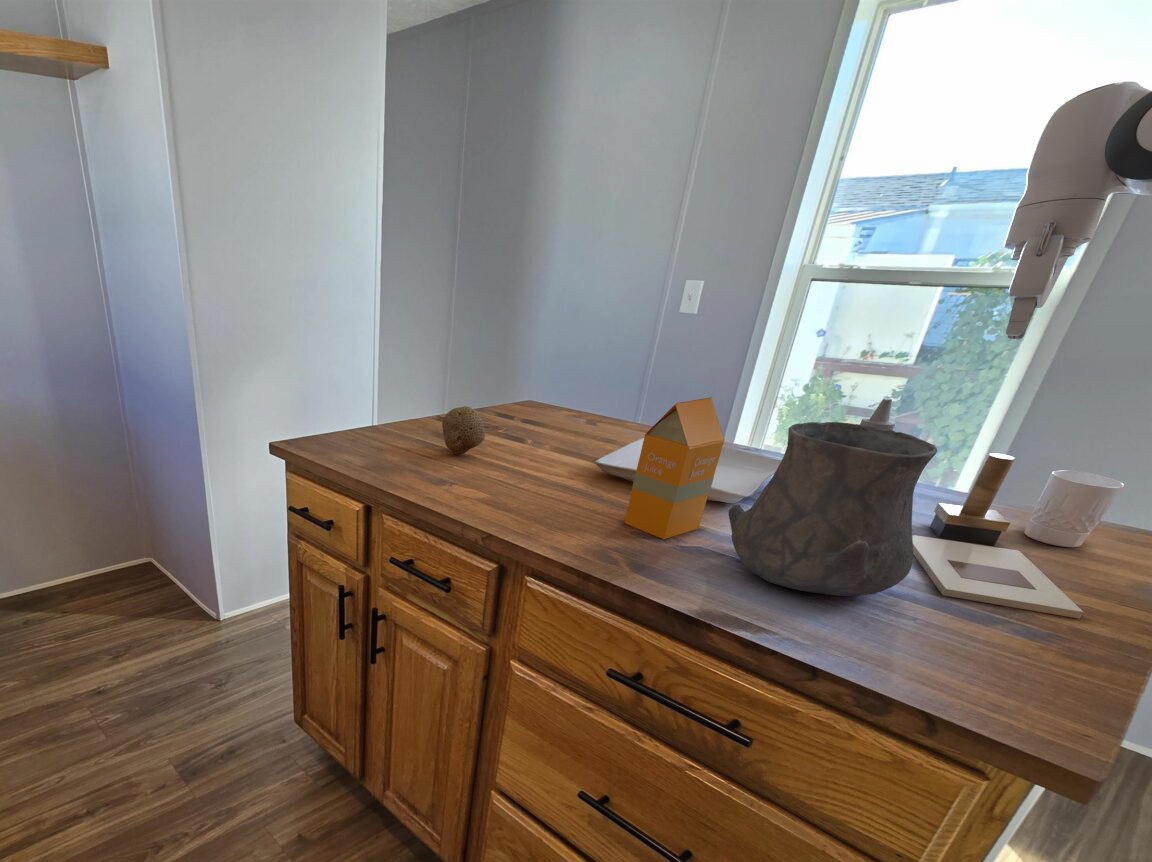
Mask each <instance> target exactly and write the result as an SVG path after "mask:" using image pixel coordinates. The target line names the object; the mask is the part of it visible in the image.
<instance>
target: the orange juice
mask: <svg viewBox="0 0 1152 862" xmlns="http://www.w3.org/2000/svg"><path fill="white" fill-rule="evenodd" d="M722 431H723V430H722V428H721V425H720V422H719V418H718V415H717V412H716V409H715V405H714V402H713V397H712V396H711V397H706V398H699V399H693V400H687V401H680V402H676V403H675V404H673V406H672V407H670V409H669V410H668V411H666V413H665V414H664V415H663V416H662V417H661V418H660V419H659V420H658V421H656V423H654V425H653V426H652V427H651V428H650V429H649V430H648V431H647V432H646V433H644V437H643V438H644V441H643V445H642V449H641V454H640V458H639V462H638V466H637V471H636V473H635V478H634V482H632V487H631V493H630V496H629V500H628V504H627V509H626V514H625V518H624V521H623V523H624V524H626V525H628V526H630V527H633V528H635V529H638V530H640V531H643V532H645V533H647V534H650V535H653V536H655V537H657V538H659V539H662V540H666V539H670V538H673V537H676V536H679V535H682V534H686V533H689V532H692V531H695V530H698V529H699V528H700V523H701V521H702V517H703V514H704V511H705V508H706V504H707V501H708V500H707V498H708V494H709V492H710V489H711V485H712V482H713V479H714V474H715V471H716V467H717V464H718V461H719V457H720V454H721V450H722V447H724V444H725V440H726V439H725V438H724V434H723V432H722Z"/></svg>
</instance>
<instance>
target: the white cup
mask: <svg viewBox="0 0 1152 862" xmlns="http://www.w3.org/2000/svg"><path fill="white" fill-rule="evenodd" d="M1125 486H1126V485H1125V484H1124V483H1123V482H1122V481H1120V480H1118V479H1115V478H1112V477H1109V476H1104V475H1100V474H1096V473H1091V472H1086V471H1077V470H1067V469H1066V470H1065V469H1062V470H1061V469H1060V470H1059V469H1058V470H1054V471H1052V472H1051V473H1050V475H1049V477H1048V480H1047V482H1046V484H1045V485H1044V488H1043V490H1042V492H1041V495H1040V496H1039V498H1038V500H1037V501H1036V504H1035V506H1034V509H1033V511H1032V513H1031V514H1030V515H1031V517H1030V520H1029V522H1028V524H1027V525H1026V527H1025V529H1024V532H1023V533H1024V534H1025V535H1026V537H1028V538H1031V539H1033V540H1035V541H1037V542H1040V543H1044V544H1048V545H1052V546H1057V547H1065V548H1079V547H1081V546H1082V545H1083V543H1084V542H1085V541H1086V539H1087V537H1088V536H1089V535H1090V534H1091V532H1093V531H1094V530H1095V528H1096V526H1098V524H1099V523H1100V522H1101V520H1102V518H1103V517H1104V516H1105V515H1106V514H1107V513H1108V510H1109V509H1110V508H1111V506H1112V505H1113V503H1114V502H1115V500H1116V499H1117V498H1118V496H1119V495H1120V494H1121V492H1122V491H1123V489H1124V488H1125Z"/></svg>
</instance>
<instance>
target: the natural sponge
mask: <svg viewBox="0 0 1152 862" xmlns="http://www.w3.org/2000/svg"><path fill="white" fill-rule="evenodd" d="M441 426H442V434H443V440H444V444H445V447H446V448H447V449H448V450H450V451H451V453H452V454H453V455H455V456H456V455H457V456H461V455H464V454H465V453H467V452H469V451H470V450H471V449H474V448H476V447H478V446H480V445H481V444H482V443H483V442H484V440H485V438H486V434H487V433H486V427H485V424H484V421H483V419H482V417H481V415H480V414H479V413H478V412H477V411H476V410H475V409H474V408H472V407H470V406H466V405H463V406H459V407H454V408H452V409H450V410H449V411H448V412H447V413H446V414H445V415H444V416H443V419H442V423H441Z"/></svg>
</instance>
